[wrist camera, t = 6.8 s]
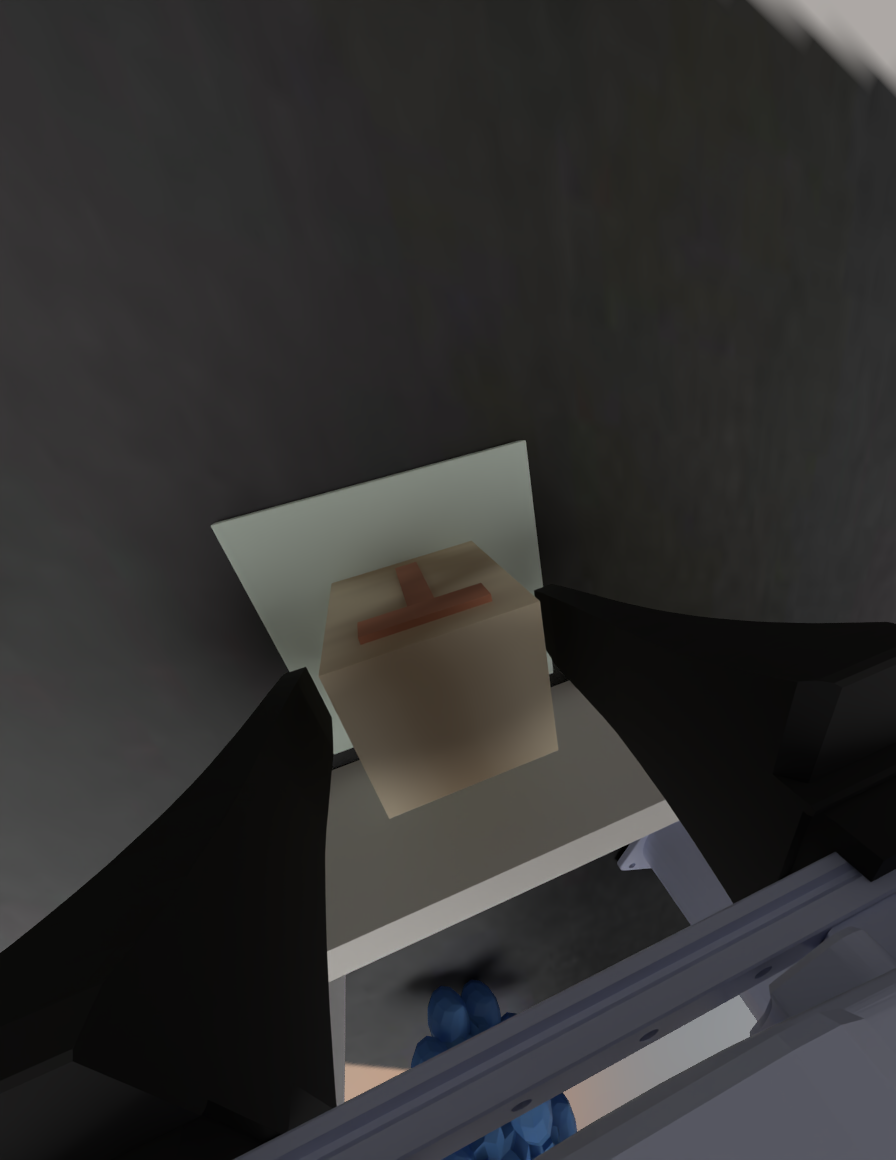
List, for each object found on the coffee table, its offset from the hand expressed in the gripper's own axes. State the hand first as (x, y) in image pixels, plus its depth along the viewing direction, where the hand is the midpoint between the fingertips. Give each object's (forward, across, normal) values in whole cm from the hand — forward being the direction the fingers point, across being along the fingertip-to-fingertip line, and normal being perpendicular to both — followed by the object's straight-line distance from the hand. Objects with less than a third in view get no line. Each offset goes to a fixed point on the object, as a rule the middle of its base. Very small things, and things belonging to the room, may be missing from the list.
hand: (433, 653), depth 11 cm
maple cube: (+2, 0, 0) cm, 3 cm away
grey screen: (+3, 0, +7) cm, 8 cm away
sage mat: (+3, 0, 0) cm, 3 cm away
